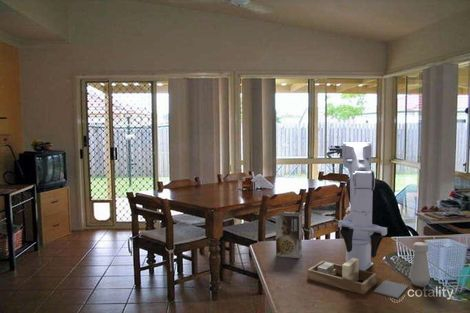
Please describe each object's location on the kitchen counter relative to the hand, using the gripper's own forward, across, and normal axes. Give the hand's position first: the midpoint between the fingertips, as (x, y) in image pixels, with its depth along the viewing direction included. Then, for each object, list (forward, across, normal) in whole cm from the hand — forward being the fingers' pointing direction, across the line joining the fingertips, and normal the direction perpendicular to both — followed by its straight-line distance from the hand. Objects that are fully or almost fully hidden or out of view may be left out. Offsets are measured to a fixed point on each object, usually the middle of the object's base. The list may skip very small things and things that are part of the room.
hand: (361, 253), depth 120 cm
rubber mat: (+10, +8, +3) cm, 13 cm away
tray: (+10, -6, 0) cm, 12 cm away
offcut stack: (+10, -12, 0) cm, 16 cm away
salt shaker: (+10, +14, +13) cm, 21 cm away
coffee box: (+11, -32, +10) cm, 36 cm away
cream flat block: (+10, -3, 0) cm, 11 cm away
